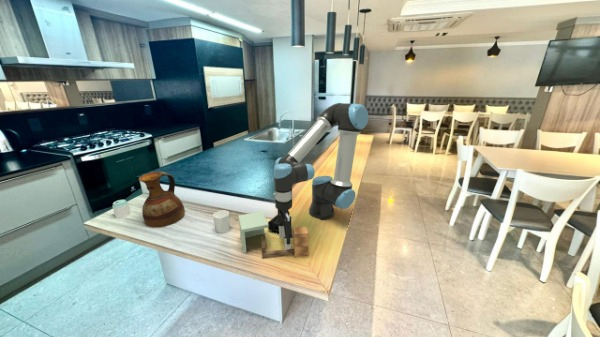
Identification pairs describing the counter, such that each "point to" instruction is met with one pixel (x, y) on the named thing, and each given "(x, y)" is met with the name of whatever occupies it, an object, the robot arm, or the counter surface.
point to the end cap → (274, 225)
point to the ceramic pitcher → (161, 201)
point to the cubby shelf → (251, 226)
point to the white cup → (222, 221)
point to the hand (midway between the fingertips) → (285, 243)
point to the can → (121, 209)
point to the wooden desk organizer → (298, 241)
